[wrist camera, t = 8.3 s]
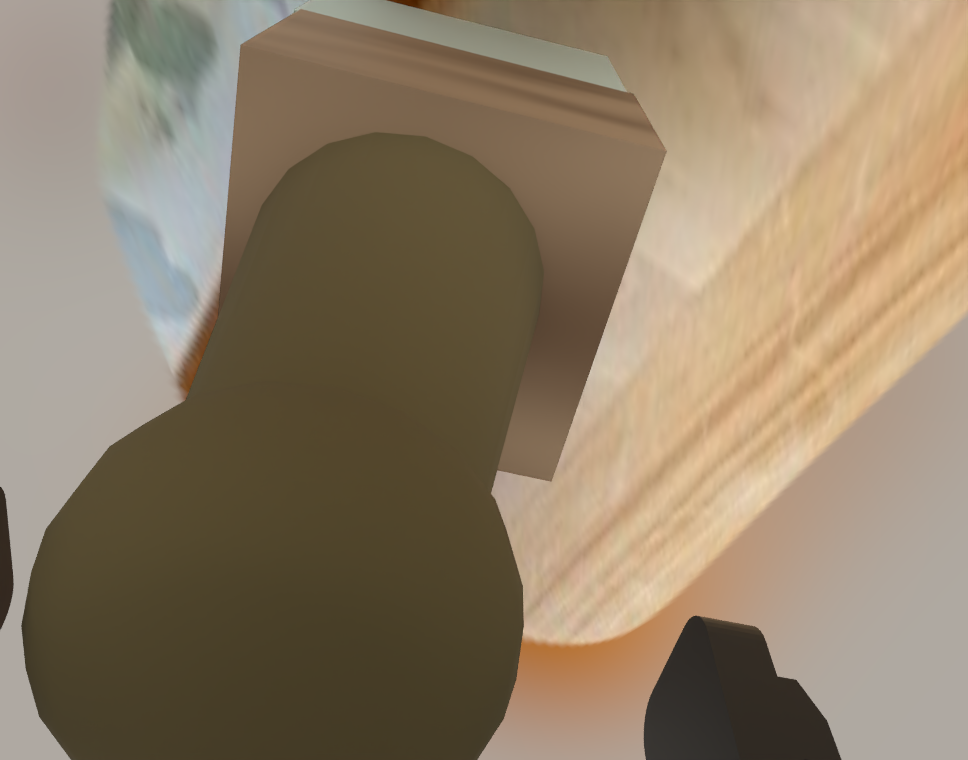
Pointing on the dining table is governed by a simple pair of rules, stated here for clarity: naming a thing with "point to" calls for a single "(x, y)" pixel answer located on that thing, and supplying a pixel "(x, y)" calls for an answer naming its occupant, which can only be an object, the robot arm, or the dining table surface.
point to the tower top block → (490, 140)
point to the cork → (312, 491)
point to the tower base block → (473, 38)
